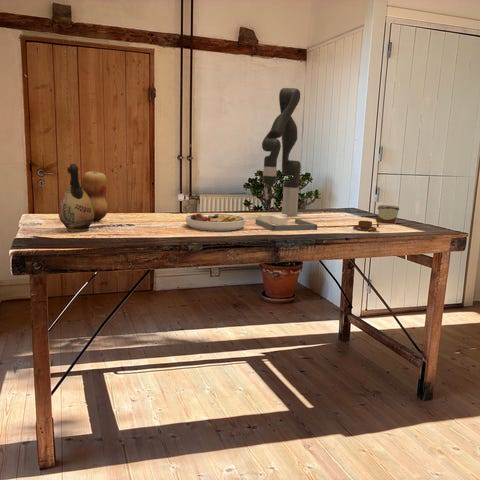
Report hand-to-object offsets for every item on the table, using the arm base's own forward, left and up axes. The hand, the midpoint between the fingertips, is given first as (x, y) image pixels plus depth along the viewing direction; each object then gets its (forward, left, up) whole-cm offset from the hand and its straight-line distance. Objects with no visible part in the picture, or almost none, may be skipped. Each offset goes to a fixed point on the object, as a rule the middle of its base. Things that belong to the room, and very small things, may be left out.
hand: (268, 206), depth 270 cm
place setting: (+38, +43, -9) cm, 58 cm away
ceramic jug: (+21, -103, -8) cm, 105 cm away
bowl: (+19, -37, -9) cm, 43 cm away
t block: (+12, 0, -8) cm, 15 cm away
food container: (+18, +67, -8) cm, 70 cm away
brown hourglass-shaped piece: (-5, -94, -8) cm, 94 cm away
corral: (+23, 0, -8) cm, 25 cm away
